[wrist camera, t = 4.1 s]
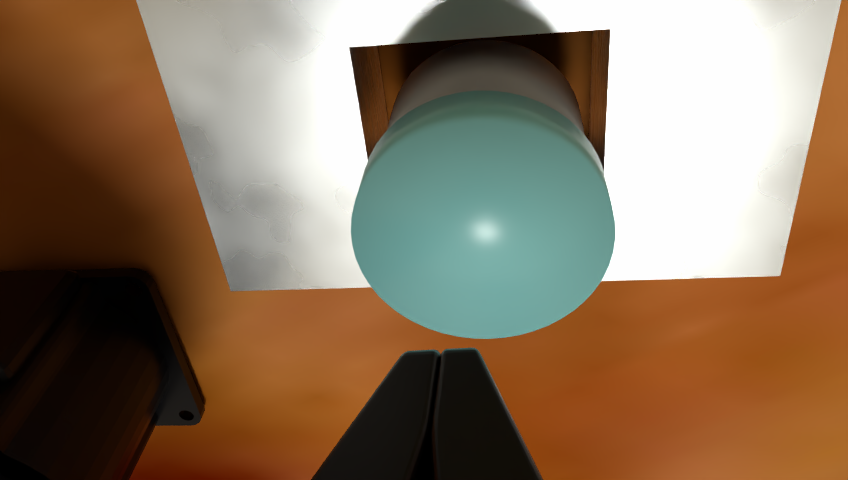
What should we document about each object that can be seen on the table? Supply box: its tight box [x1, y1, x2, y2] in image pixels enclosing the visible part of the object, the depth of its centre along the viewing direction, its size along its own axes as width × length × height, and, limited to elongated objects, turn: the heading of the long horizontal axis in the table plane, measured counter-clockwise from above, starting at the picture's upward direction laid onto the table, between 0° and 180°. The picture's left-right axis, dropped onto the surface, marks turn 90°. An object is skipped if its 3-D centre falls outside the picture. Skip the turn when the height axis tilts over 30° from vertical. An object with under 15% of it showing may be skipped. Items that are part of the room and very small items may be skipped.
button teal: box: [351, 40, 616, 339], centre depth 14 cm, size 5×5×4 cm
